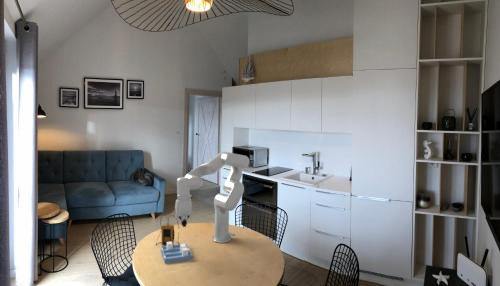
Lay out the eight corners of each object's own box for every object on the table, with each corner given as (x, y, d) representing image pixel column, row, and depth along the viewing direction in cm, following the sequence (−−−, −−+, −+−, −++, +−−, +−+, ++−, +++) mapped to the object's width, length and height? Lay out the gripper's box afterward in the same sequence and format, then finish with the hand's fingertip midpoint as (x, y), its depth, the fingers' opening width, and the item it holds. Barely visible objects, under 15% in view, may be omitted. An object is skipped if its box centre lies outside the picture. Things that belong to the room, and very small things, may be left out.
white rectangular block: (184, 249, 198) (184, 243, 198) (186, 252, 194) (186, 246, 194) (179, 250, 197) (180, 244, 196) (181, 253, 193) (181, 246, 193)
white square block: (186, 253, 192) (186, 247, 192) (188, 256, 189) (188, 250, 188) (181, 254, 191) (181, 248, 191) (183, 257, 188) (183, 250, 187)
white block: (171, 247, 201) (171, 241, 200) (172, 250, 197) (172, 243, 197) (166, 248, 200) (166, 242, 199) (167, 250, 196) (167, 244, 196)
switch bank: (186, 247, 205) (186, 243, 205) (192, 259, 189) (192, 255, 189) (160, 250, 199) (160, 246, 199) (164, 263, 183) (164, 259, 182)
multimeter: (182, 240, 216) (183, 211, 215) (177, 246, 206) (178, 216, 205) (161, 239, 218) (161, 210, 216) (155, 245, 208) (155, 214, 206)
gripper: (194, 194, 205) (194, 222, 207) (170, 197, 199) (170, 225, 201) (197, 197, 198) (197, 226, 200) (172, 200, 193) (172, 230, 194)
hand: (184, 226), depth 201 cm, fingers closed
